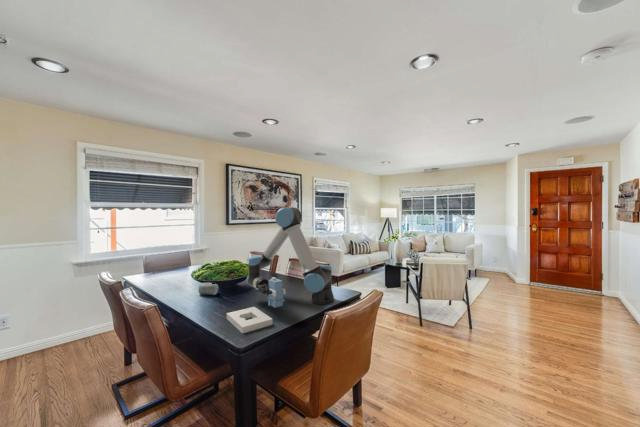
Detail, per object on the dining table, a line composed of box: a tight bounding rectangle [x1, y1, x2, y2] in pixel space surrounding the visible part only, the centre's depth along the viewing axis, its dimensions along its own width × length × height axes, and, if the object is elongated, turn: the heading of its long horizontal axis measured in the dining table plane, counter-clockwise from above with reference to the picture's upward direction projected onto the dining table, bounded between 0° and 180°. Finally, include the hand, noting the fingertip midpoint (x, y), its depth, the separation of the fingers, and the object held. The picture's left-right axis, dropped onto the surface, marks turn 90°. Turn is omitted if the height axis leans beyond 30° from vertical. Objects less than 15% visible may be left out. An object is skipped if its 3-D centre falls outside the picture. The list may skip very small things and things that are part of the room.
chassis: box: [226, 306, 274, 334], centre depth 142 cm, size 22×16×3 cm
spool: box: [198, 282, 219, 296], centre depth 187 cm, size 14×10×10 cm
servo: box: [266, 276, 286, 308], centre depth 151 cm, size 11×6×15 cm, turn 38°
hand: (280, 292), depth 148 cm, fingers closed on servo, 5 cm apart
